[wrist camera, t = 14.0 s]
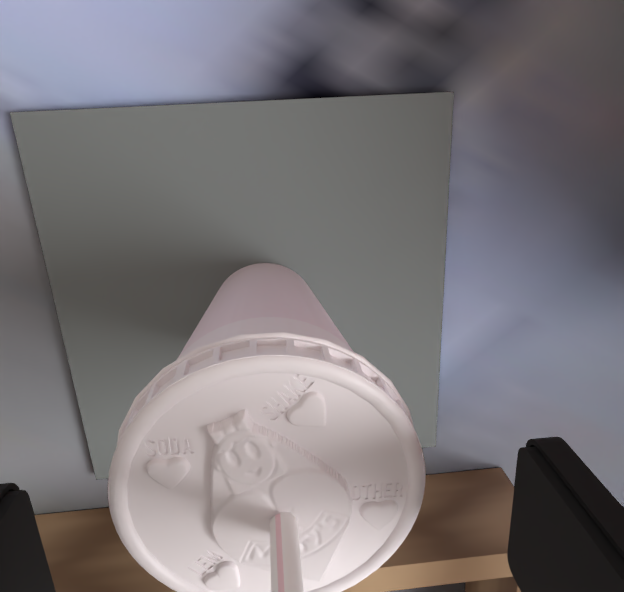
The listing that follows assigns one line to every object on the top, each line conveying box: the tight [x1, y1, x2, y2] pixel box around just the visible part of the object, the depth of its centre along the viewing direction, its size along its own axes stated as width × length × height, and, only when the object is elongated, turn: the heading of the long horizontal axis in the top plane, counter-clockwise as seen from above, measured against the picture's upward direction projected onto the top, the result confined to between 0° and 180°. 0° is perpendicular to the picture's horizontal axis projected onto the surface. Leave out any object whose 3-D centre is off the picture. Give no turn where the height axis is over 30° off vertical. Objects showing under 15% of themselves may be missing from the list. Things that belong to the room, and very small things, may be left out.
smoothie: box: [108, 263, 426, 592], centre depth 13 cm, size 6×6×14 cm
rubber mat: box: [10, 92, 454, 480], centre depth 20 cm, size 14×14×1 cm
